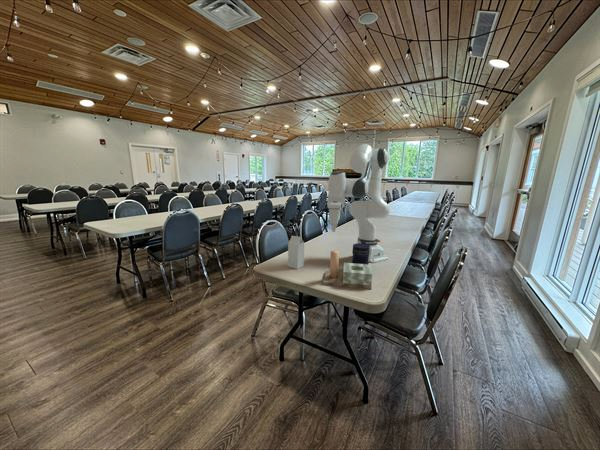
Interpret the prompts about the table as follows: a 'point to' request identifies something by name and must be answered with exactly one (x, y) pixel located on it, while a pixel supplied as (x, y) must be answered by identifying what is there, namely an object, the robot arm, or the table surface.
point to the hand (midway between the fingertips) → (334, 229)
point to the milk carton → (296, 252)
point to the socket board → (340, 281)
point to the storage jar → (360, 253)
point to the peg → (334, 264)
